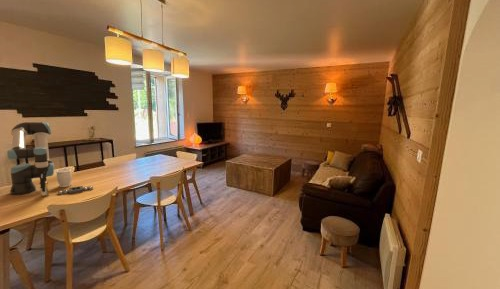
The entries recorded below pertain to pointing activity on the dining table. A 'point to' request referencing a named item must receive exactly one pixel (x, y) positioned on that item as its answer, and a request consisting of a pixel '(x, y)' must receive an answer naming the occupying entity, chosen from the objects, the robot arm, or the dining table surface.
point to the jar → (64, 177)
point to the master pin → (46, 189)
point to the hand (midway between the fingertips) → (44, 193)
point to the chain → (75, 190)
